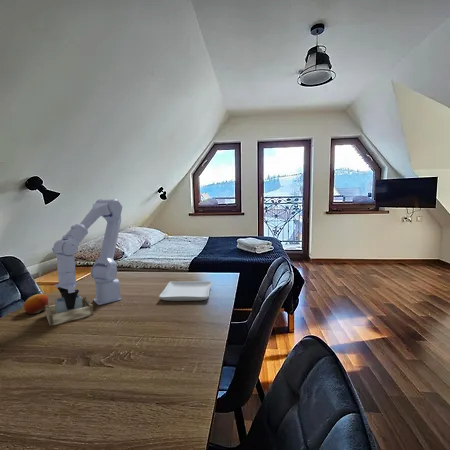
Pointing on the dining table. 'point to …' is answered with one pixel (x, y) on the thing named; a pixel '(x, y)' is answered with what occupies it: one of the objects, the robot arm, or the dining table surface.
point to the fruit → (36, 303)
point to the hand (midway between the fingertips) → (69, 306)
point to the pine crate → (68, 313)
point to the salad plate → (186, 291)
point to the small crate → (61, 304)
